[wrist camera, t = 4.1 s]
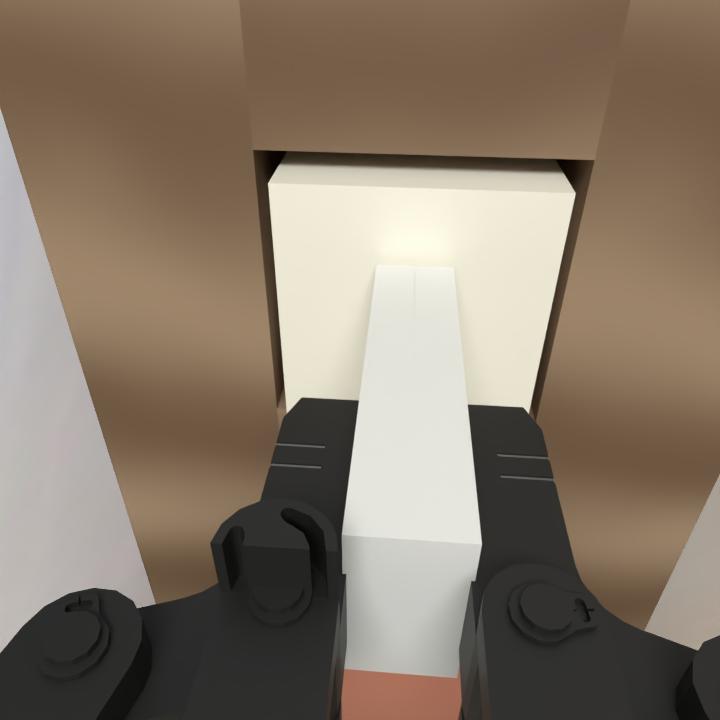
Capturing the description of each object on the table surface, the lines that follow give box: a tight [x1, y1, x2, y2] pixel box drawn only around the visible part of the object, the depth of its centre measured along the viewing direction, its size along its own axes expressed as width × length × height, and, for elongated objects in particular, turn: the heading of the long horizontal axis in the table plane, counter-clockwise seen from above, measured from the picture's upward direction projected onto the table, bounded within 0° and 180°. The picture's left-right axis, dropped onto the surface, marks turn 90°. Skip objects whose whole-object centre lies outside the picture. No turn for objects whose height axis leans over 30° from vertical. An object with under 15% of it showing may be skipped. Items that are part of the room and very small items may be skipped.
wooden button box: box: [0, 0, 720, 631], centre depth 21 cm, size 33×16×5 cm, turn 0°
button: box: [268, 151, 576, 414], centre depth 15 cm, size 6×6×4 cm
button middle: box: [341, 665, 462, 720], centre depth 19 cm, size 6×6×4 cm
